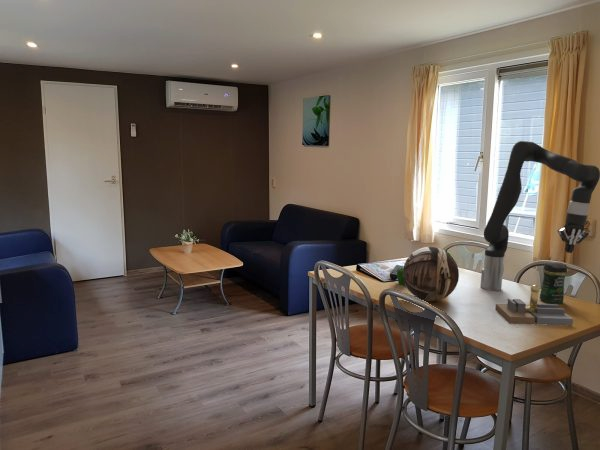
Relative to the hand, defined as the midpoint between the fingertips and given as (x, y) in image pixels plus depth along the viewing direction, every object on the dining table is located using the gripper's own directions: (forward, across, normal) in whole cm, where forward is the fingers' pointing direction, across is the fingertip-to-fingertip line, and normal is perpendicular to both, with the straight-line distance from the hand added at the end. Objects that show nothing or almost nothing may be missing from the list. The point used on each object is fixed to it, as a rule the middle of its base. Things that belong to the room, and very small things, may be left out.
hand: (568, 252), depth 199 cm
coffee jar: (+28, -7, -14) cm, 32 cm away
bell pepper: (+34, +54, -42) cm, 77 cm away
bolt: (+25, +17, +6) cm, 31 cm away
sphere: (+32, +50, -18) cm, 62 cm away
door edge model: (+28, +14, +6) cm, 32 cm away
